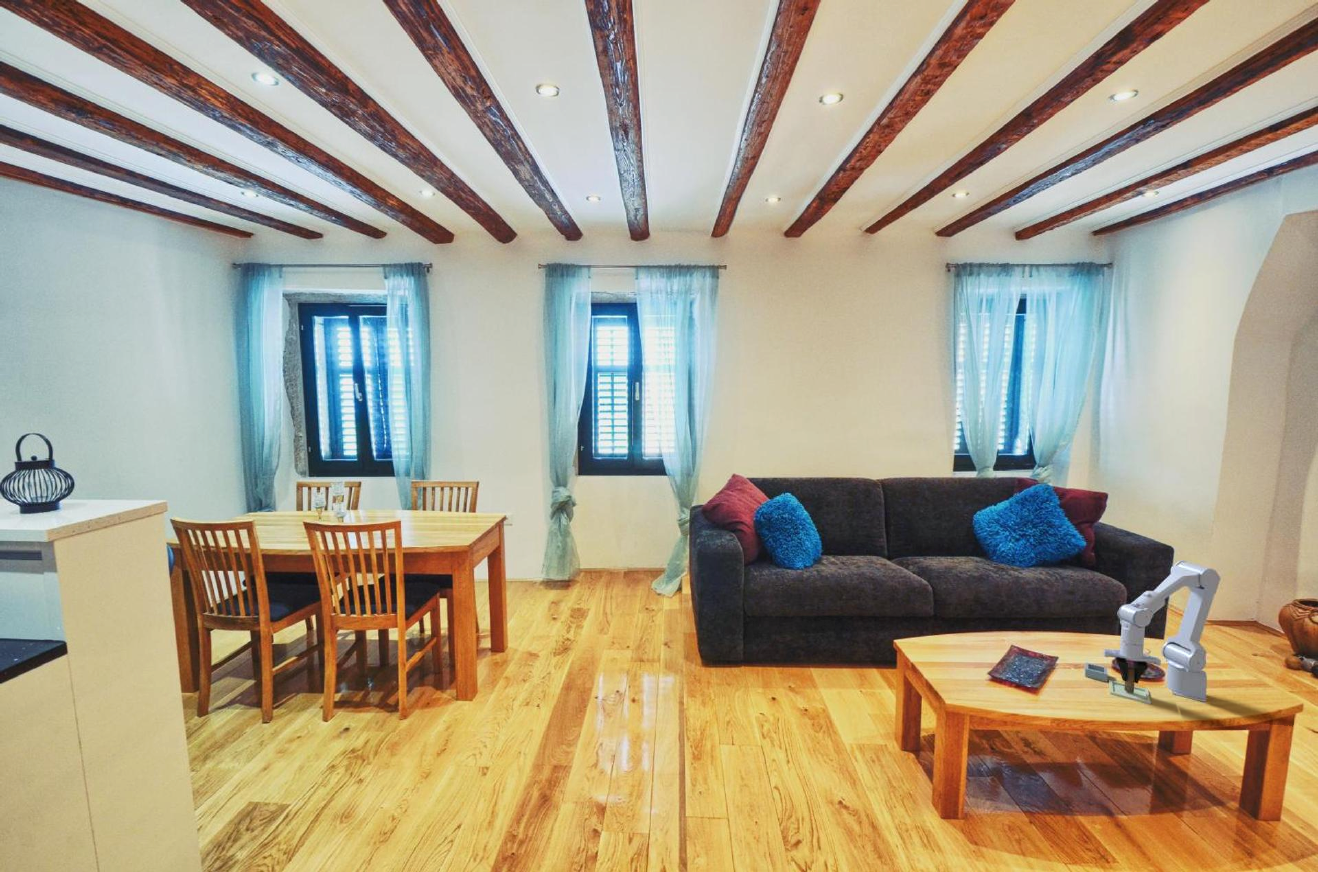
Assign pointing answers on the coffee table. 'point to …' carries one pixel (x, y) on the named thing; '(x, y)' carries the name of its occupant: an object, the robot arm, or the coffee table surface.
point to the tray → (1137, 695)
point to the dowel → (1130, 679)
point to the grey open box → (1096, 672)
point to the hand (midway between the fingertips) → (1129, 680)
